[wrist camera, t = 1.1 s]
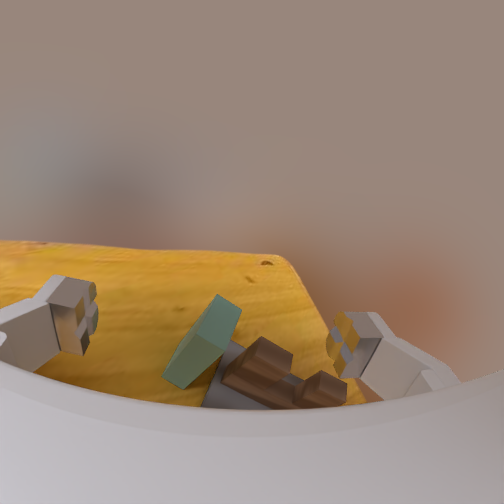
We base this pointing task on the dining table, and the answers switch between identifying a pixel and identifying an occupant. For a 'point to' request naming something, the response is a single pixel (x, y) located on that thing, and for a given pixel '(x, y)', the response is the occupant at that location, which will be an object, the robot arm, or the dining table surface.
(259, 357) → the walnut slotted plate
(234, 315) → the teal green rectangular block
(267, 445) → the robot arm
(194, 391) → the dining table surface
